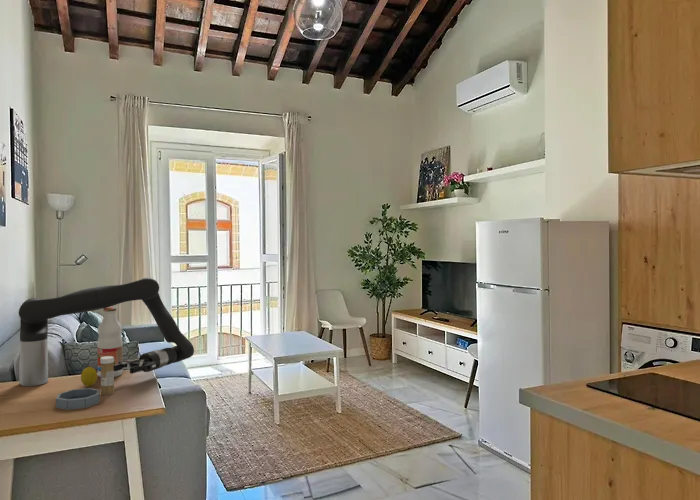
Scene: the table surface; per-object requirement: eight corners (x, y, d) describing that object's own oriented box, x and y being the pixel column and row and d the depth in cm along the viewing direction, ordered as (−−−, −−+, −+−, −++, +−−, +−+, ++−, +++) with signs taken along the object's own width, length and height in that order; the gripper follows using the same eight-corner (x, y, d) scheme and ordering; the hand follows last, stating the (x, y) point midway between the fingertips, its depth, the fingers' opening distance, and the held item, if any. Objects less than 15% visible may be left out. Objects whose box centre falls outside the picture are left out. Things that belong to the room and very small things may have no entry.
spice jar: (98, 393, 190) (98, 357, 190) (110, 390, 194) (110, 355, 193) (104, 396, 187) (103, 359, 187) (116, 393, 191) (116, 357, 190)
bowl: (48, 406, 176) (48, 396, 176) (81, 395, 188) (81, 386, 188) (75, 411, 171) (75, 401, 171) (108, 400, 183) (107, 391, 183)
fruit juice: (127, 374, 217) (127, 307, 215) (106, 379, 209) (105, 310, 208) (114, 370, 222) (113, 305, 221) (93, 375, 214) (92, 308, 213)
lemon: (90, 389, 195) (90, 368, 195) (77, 388, 196) (77, 367, 196) (100, 385, 200) (100, 365, 200) (87, 384, 202) (87, 364, 201)
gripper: (140, 349, 214) (108, 358, 199) (167, 352, 208) (136, 361, 193) (140, 367, 214) (108, 377, 199) (167, 371, 208) (136, 381, 194)
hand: (122, 369), depth 196 cm, fingers open, 8 cm apart
